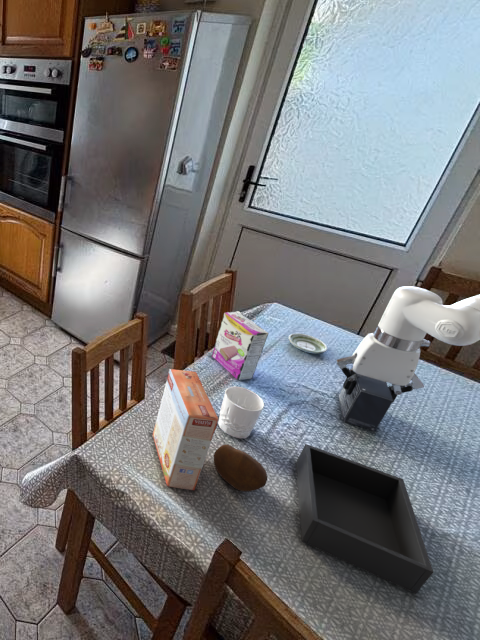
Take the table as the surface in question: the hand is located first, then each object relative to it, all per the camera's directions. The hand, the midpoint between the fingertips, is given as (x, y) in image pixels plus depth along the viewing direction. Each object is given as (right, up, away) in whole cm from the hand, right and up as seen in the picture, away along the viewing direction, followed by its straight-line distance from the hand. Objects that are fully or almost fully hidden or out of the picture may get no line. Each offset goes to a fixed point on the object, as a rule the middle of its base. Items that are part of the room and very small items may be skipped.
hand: (365, 396), depth 102 cm
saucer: (+7, +6, +27) cm, 28 cm away
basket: (-25, -17, -22) cm, 37 cm away
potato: (-42, -14, -13) cm, 46 cm away
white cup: (-34, -8, -1) cm, 35 cm away
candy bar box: (-22, +2, +19) cm, 29 cm away
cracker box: (-53, -12, -9) cm, 55 cm away
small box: (0, -6, +3) cm, 6 cm away
